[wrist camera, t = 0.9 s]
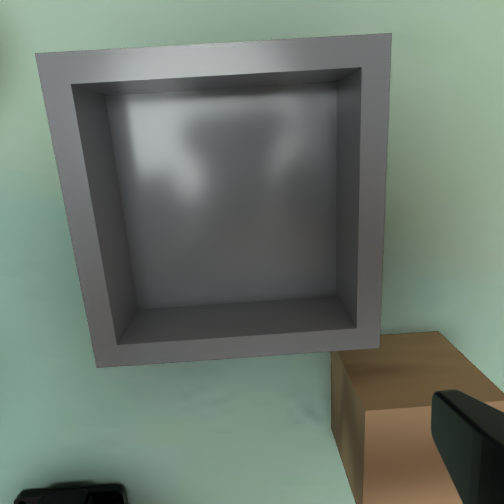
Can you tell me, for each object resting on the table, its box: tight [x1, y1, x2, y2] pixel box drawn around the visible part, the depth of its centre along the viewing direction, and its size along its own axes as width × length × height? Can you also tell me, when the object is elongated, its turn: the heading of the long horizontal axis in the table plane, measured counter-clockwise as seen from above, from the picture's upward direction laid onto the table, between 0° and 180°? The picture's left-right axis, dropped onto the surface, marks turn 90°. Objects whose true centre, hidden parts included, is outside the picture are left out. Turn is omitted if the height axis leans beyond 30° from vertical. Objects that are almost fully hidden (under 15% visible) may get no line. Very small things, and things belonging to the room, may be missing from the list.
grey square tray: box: [35, 33, 392, 368], centre depth 17 cm, size 12×12×4 cm
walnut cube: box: [331, 331, 504, 504], centre depth 19 cm, size 6×6×6 cm
